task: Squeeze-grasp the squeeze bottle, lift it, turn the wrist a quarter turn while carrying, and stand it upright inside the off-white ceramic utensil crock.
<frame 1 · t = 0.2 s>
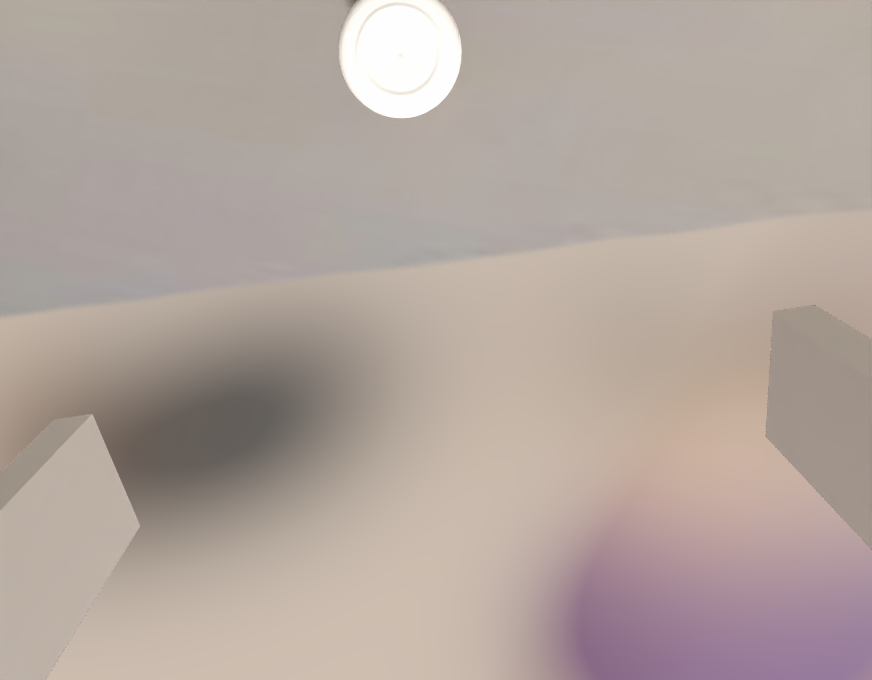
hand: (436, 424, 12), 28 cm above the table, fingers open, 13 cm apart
sprinkles bottle: (407, 58, 35), on the table
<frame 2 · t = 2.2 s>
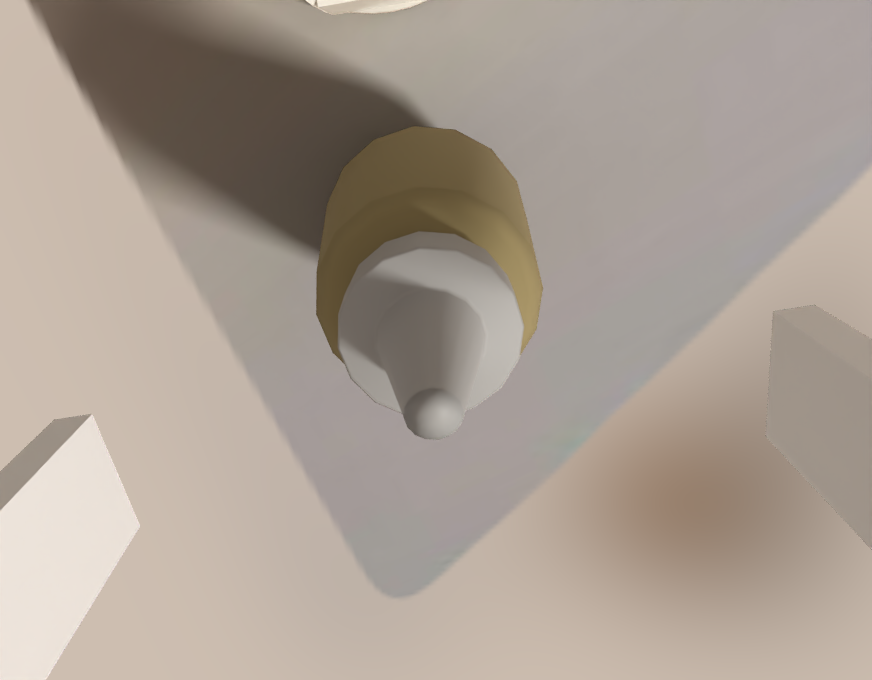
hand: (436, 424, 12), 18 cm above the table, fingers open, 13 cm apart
squeeze bottle: (425, 210, 29), on the table
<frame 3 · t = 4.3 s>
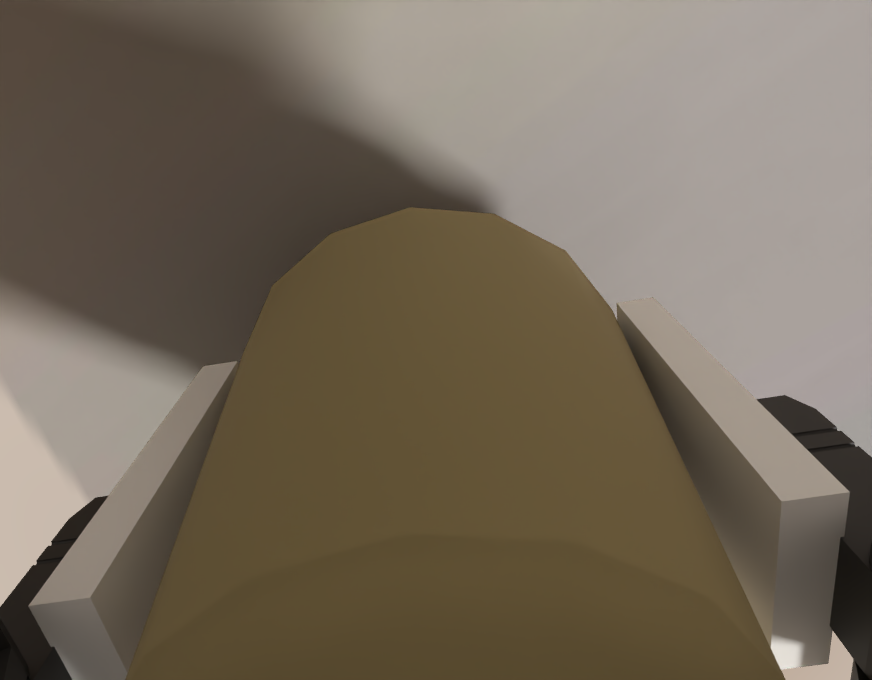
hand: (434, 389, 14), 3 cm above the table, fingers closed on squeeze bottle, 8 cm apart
squeeze bottle: (432, 328, 17), on the table, touching gripper
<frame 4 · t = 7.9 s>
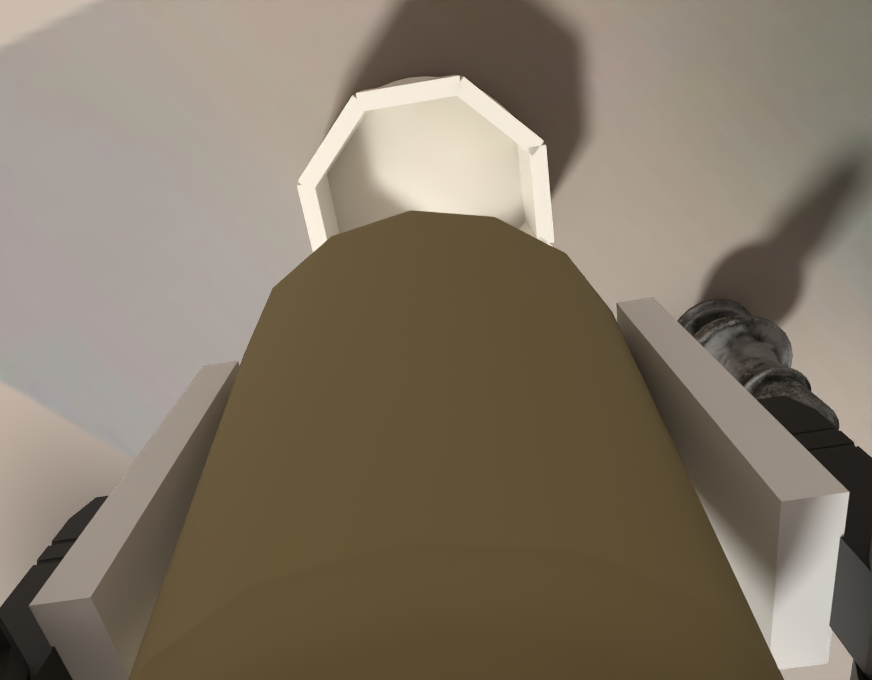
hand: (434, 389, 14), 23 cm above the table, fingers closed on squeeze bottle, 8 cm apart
crock: (427, 195, 34), on the table
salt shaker: (710, 339, 38), on the table
squeeze bottle: (432, 330, 17), point 19 cm above the table, touching gripper
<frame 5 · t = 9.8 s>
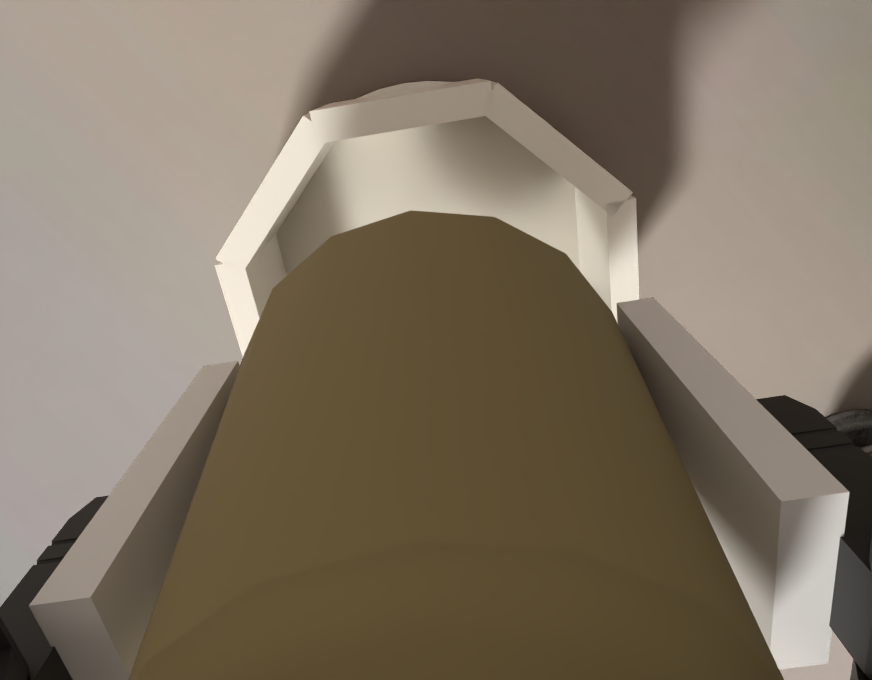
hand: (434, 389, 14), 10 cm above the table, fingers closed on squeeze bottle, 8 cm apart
crock: (433, 263, 23), on the table
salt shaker: (842, 462, 26), on the table
squeeze bottle: (432, 330, 17), point 6 cm above the table, touching gripper
when the fingers open (6 cm above the table, at t = 11.5 s): squeeze bottle drops 2 cm, resting on crock.
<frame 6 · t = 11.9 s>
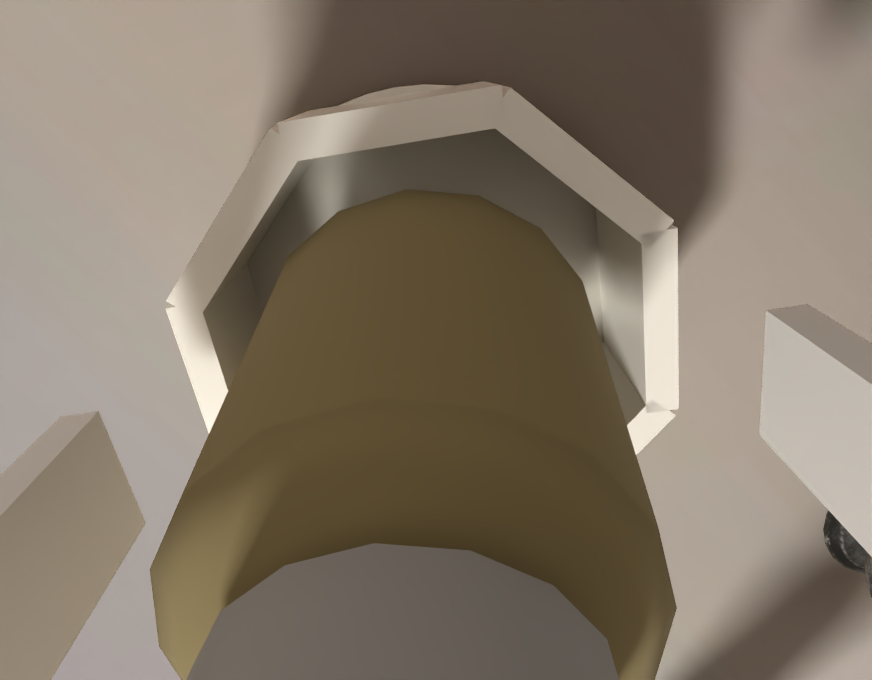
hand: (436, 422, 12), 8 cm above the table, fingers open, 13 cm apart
crock: (430, 294, 19), on the table
squeeze bottle: (431, 303, 19), point 1 cm above the table, touching crock
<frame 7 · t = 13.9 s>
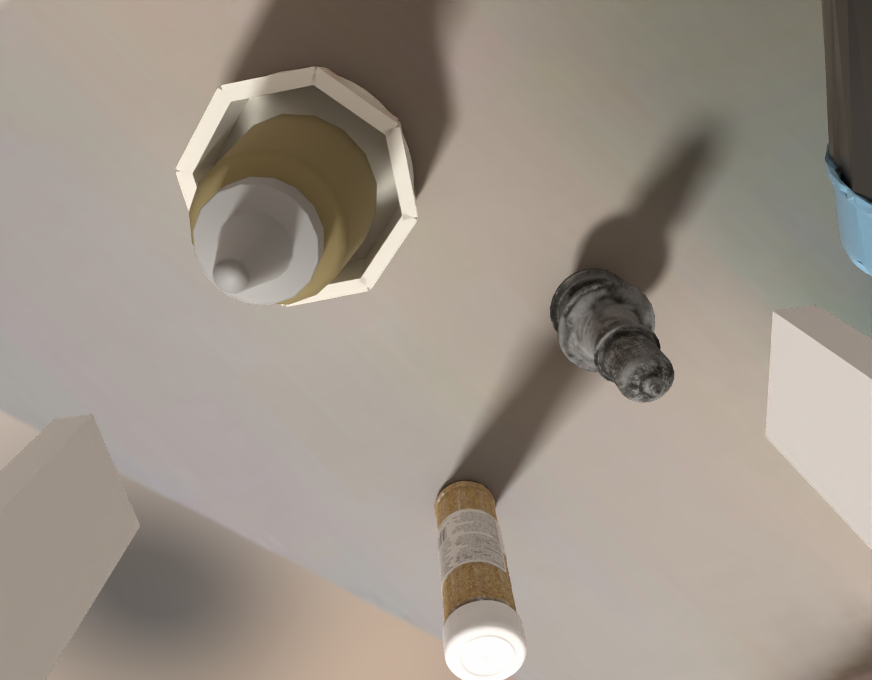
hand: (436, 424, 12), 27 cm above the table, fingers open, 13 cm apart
crock: (311, 180, 37), on the table
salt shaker: (589, 307, 41), on the table
squeeze bottle: (310, 183, 37), point 1 cm above the table, touching crock
sprinkles bottle: (464, 501, 47), on the table
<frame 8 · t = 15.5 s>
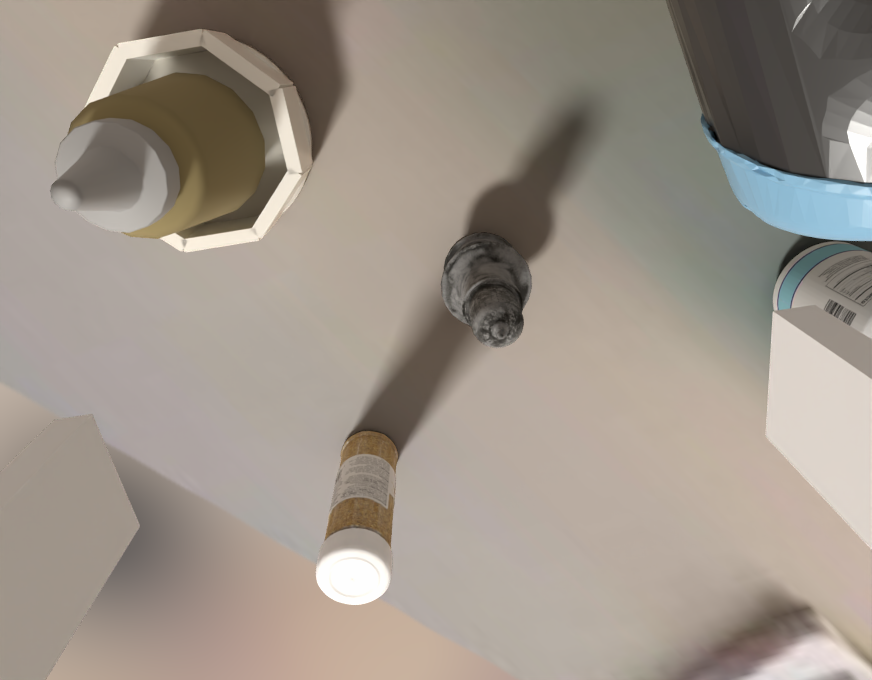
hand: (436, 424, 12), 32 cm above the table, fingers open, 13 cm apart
crock: (217, 139, 40), on the table
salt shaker: (481, 269, 44), on the table
squeeze bottle: (214, 141, 40), point 1 cm above the table, touching crock
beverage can: (812, 284, 45), on the table
sprinkles bottle: (369, 451, 50), on the table
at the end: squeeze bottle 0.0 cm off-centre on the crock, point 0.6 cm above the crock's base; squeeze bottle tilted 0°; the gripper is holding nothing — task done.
